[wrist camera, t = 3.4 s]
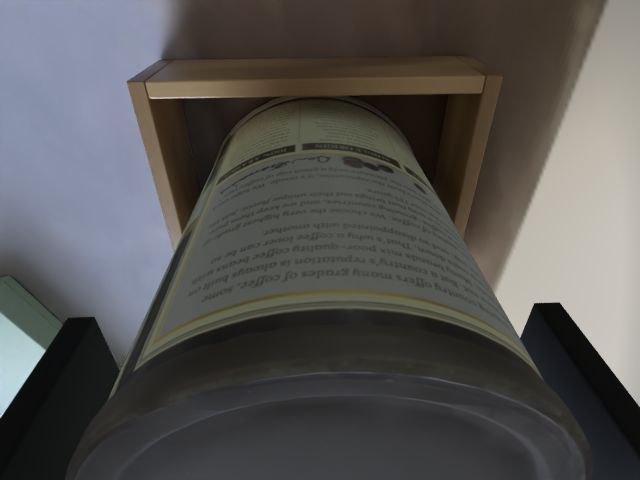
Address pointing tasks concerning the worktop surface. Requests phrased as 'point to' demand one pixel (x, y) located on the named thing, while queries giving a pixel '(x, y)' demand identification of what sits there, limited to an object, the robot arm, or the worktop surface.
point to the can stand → (314, 80)
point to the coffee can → (326, 328)
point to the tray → (21, 337)
